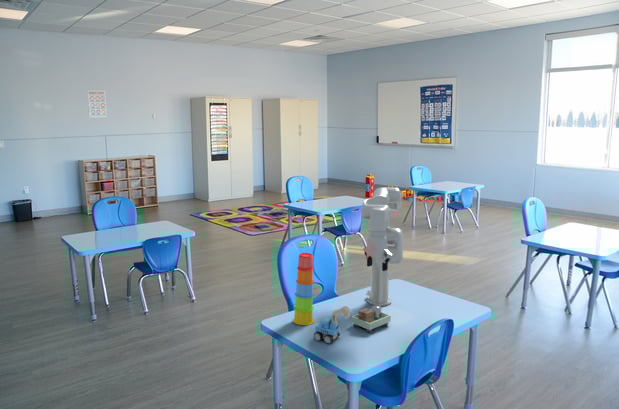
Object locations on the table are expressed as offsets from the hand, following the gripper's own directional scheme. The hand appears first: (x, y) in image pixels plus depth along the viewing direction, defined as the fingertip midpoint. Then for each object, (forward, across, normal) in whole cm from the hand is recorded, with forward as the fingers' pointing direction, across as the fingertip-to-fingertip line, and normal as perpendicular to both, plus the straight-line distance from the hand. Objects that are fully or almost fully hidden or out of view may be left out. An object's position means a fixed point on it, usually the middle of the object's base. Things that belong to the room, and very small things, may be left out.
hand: (377, 268), depth 241 cm
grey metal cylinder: (+26, 0, 0) cm, 26 cm away
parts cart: (+28, 0, -4) cm, 29 cm away
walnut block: (+26, 0, -8) cm, 27 cm away
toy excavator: (+29, -1, -29) cm, 41 cm away
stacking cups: (+28, -26, -25) cm, 46 cm away
